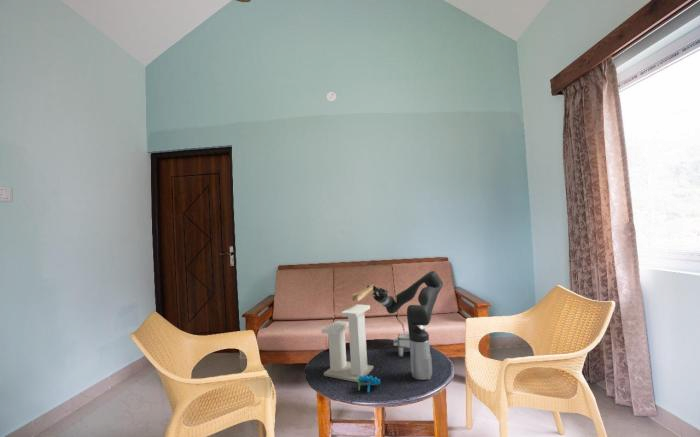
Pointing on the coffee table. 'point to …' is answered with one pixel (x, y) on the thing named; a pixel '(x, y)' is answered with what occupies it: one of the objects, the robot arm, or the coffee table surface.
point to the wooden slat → (363, 293)
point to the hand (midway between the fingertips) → (370, 287)
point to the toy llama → (404, 341)
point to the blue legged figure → (367, 381)
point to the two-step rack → (357, 345)
